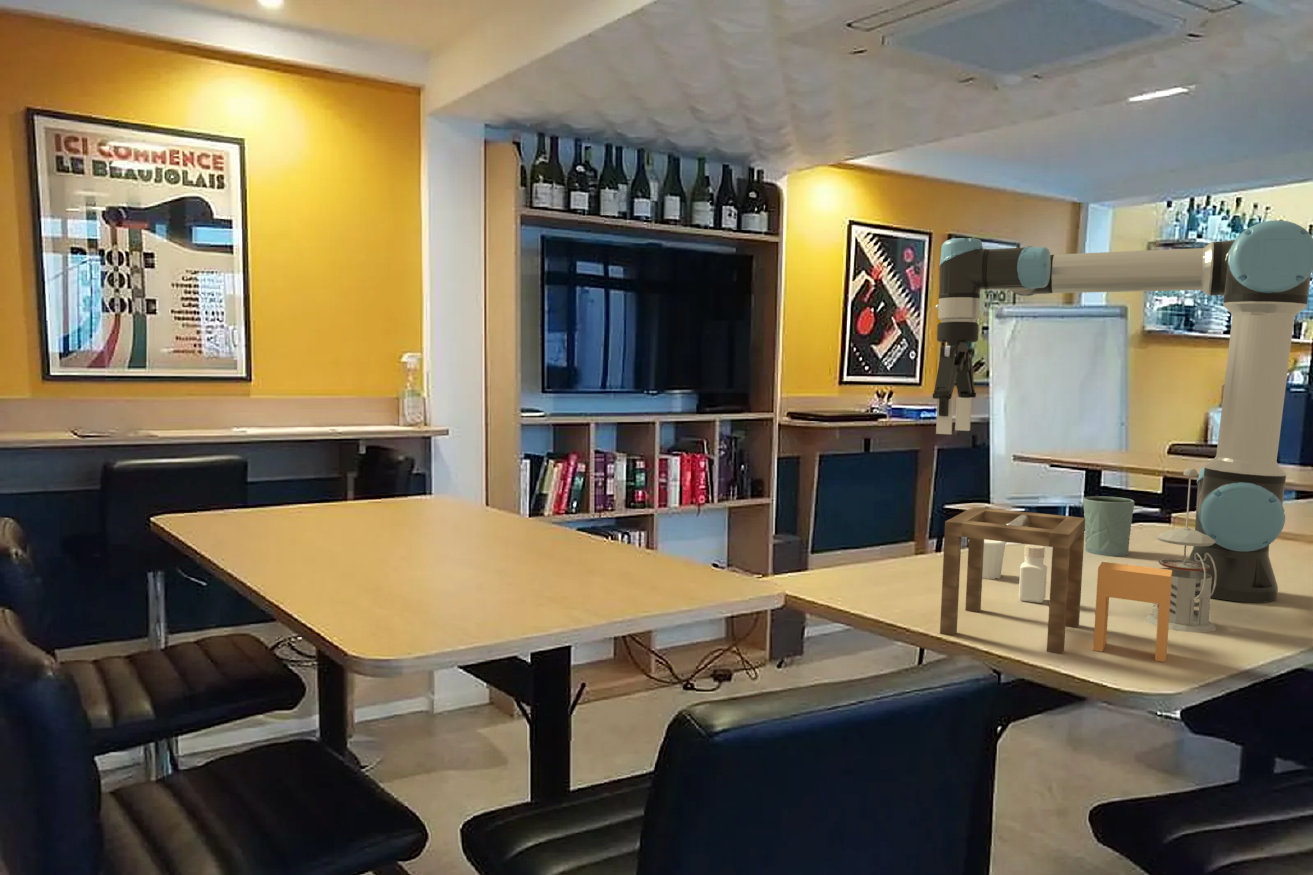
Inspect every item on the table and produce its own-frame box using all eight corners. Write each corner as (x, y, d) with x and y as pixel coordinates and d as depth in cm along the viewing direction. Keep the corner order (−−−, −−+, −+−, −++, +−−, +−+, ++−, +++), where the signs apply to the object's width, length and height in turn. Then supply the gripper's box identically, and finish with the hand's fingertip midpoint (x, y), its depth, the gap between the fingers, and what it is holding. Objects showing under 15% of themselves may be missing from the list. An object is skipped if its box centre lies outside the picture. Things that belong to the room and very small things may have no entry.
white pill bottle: (1042, 604, 156) (1045, 549, 156) (1017, 601, 158) (1020, 546, 158) (1045, 599, 160) (1048, 545, 159) (1021, 596, 162) (1024, 543, 161)
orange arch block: (1166, 652, 131) (1172, 570, 130) (1164, 662, 126) (1170, 576, 125) (1097, 641, 135) (1102, 561, 134) (1093, 650, 131) (1098, 567, 130)
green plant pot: (1139, 557, 198) (1143, 502, 197) (1092, 556, 199) (1096, 501, 198) (1117, 548, 209) (1120, 496, 208) (1072, 547, 209) (1075, 495, 208)
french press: (1191, 615, 151) (1201, 465, 149) (1238, 636, 140) (1250, 473, 138) (1133, 614, 151) (1142, 464, 149) (1175, 635, 139) (1186, 472, 138)
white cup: (1007, 580, 174) (1008, 544, 173) (969, 578, 175) (970, 542, 174) (1000, 573, 180) (1002, 537, 180) (964, 570, 182) (966, 535, 181)
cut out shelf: (1079, 624, 144) (1085, 517, 143) (1062, 653, 129) (1068, 534, 128) (968, 607, 153) (973, 507, 152) (939, 633, 138) (945, 521, 137)
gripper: (955, 324, 188) (951, 428, 189) (919, 318, 167) (914, 434, 168) (993, 324, 183) (988, 430, 185) (961, 317, 163) (956, 436, 164)
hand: (953, 432), depth 177 cm, fingers open, 13 cm apart
